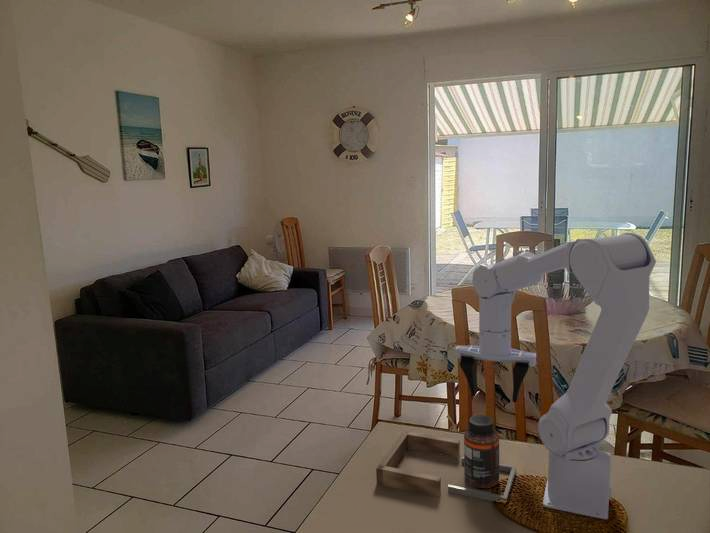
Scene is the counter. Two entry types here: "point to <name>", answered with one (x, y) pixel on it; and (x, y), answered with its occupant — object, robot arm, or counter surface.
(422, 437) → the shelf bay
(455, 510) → the counter surface
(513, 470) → the slate bracket
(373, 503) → the counter surface
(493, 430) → the supplement bottle
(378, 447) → the counter surface
